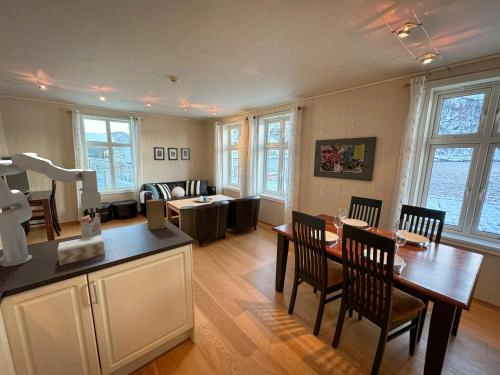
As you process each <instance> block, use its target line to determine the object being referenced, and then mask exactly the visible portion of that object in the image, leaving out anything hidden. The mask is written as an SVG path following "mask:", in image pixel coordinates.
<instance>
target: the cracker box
mask: <svg viewBox="0 0 500 375" xmlns="http://www.w3.org/2000/svg"><path fill="white" fill-rule="evenodd" d="M92 217H93V216H92ZM79 220H80V233H81V239H82V238H88V237H93V236H98V235H102V226H101V213H99V212H97V213H96V212H95V217H94V219H91V218H90V216H89V214H87V215H86V216H83V217H81V218H79Z"/></svg>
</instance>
